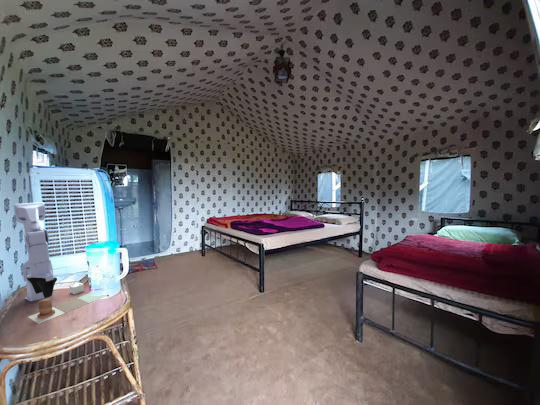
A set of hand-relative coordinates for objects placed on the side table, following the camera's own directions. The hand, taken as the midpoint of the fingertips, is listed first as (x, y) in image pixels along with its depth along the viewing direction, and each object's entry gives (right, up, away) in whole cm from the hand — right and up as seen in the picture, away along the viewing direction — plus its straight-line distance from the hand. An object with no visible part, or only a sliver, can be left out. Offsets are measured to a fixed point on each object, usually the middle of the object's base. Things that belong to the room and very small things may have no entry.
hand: (43, 294), depth 98 cm
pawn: (0, -8, +1) cm, 8 cm away
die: (-3, -7, +21) cm, 22 cm away
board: (+4, -8, +9) cm, 12 cm away
